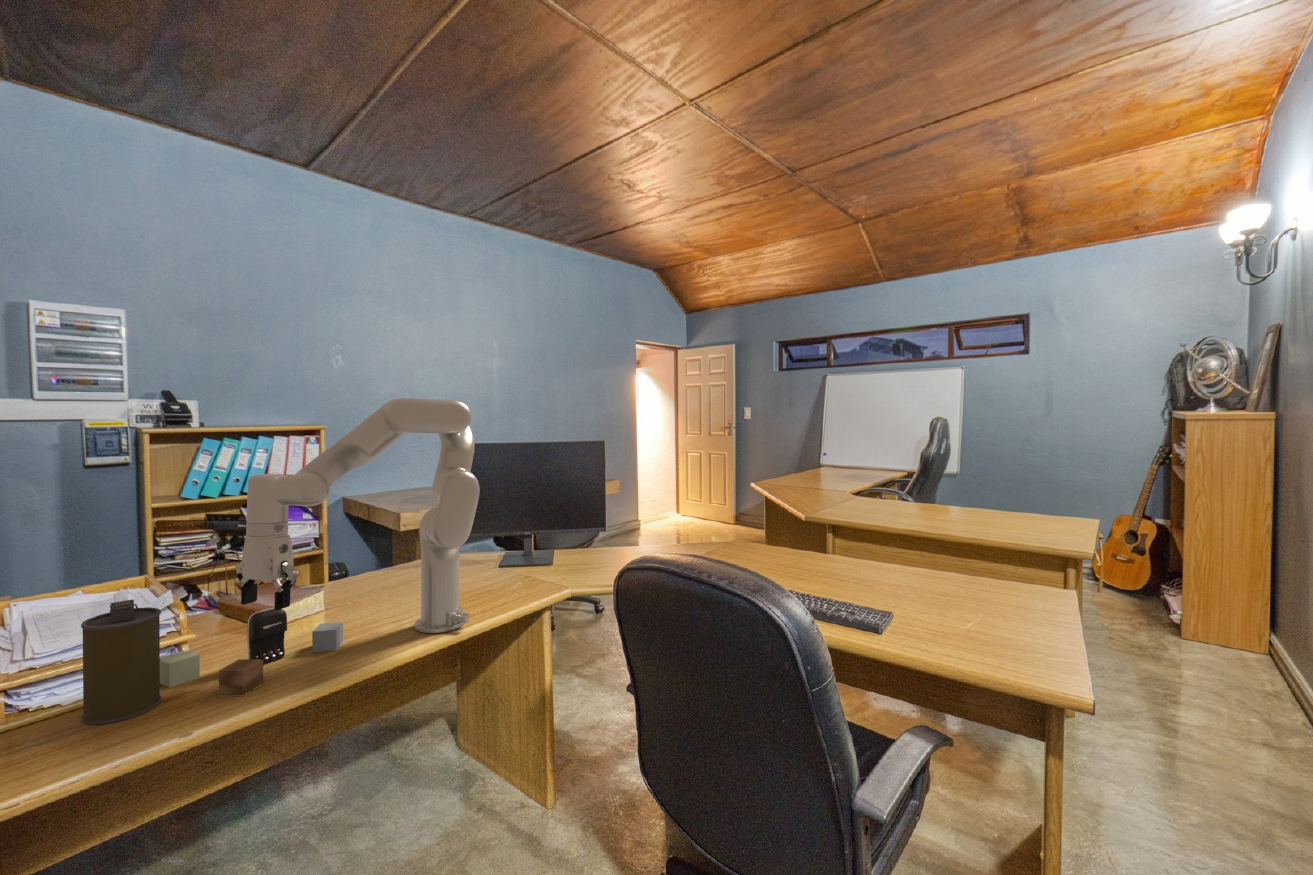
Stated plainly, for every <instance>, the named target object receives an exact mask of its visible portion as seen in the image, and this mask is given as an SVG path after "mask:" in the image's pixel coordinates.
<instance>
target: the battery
mask: <svg viewBox="0 0 1313 875" xmlns="http://www.w3.org/2000/svg"><path fill="white" fill-rule="evenodd" d="M246 625H247V627H246V628H247V629H246V638H247V659H250V660H263V665H265V664H267V663H271V662H274V661H277V660H279V659H282V658H284V657H285V655H286V652H285V650H286V649H285V632H286V631H288V615H287V611H285V610H284V609H280V610H275V609H274V607H272V608H271V607H270V608H267V609H263V610H258V611H256V612H253V613H252V614H249V616H248V618H247V624H246Z"/></svg>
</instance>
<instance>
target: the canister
mask: <svg viewBox="0 0 1313 875" xmlns="http://www.w3.org/2000/svg"><path fill="white" fill-rule="evenodd" d="M109 608H110V609H109V612H106V613H102V614H99V615H96V616H93V617H90V618H88V619H86V620H83V622H82V623H81V624H80V628H81V629H82V696H83V699H82V701H83V702H82V704H83V706H82V707H83V708H82V709H83V715H82V716H81V721H82V722H83V723H84V724H86V725H92V726H95V725H96V726H97V725H108V724H113V723H118V722H122V721H126V720H129V719H132V718H135V717H138V716H141V715H143V714H144V713H147V712H148V711H151V710H153V709H154V708H155V707H157V706H158V705H159V704H160V703H161V701H162V696H161V692H160V691H161V684H160V658H161V657H160V655H161V654H160V653H161V652H160V651H161V650H160V649H161V648H160V646H161V645H160V641H161V640H160V636H161V635H160V634H161V633H160V631H161V630H160V628H161V627H160V626H161V625H160V623H161V622H160V615H162V614H161V613H162V611H161V609H159V608H157V607H150V606H149V607H146V606H145V607H138V604H137V603H135V600H134V599H133V598H132V599H128V600H127V599H126V600H123V601H122V600H121V601H115V602H110V605H109Z"/></svg>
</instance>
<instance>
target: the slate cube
mask: <svg viewBox="0 0 1313 875" xmlns="http://www.w3.org/2000/svg"><path fill="white" fill-rule="evenodd" d="M311 634H312V638H311V639H312V640H311V641H312V642H311V644H312V645H311V646H312V648H311V650H312V653H319V652H333V651H335V652H336V651H337V650H338V649H339V648H340V647H341V645H342V644H343V643H344V622H342V621H340V622H327V623H323V622H322V623H319V624H318V625H317V626H316V627H315V628H314V629H313V630H312V632H311Z"/></svg>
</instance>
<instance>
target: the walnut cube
mask: <svg viewBox="0 0 1313 875" xmlns="http://www.w3.org/2000/svg"><path fill="white" fill-rule="evenodd" d="M262 683H263V684H264V664H263V660H250V659H248V658H247V659H243V658H241V659H237V660H235V661H233V662H231V663H229V664H227V665H226V666H224V667H222V668H220V669H218V696H232V695H244V696H246V695H247V694H249V693H250V692H252V691H253V689H254V688H255V689H257V688H258V687H260V686H261V685H263V684H262ZM259 685H260V686H259ZM256 687H257V688H256ZM255 689H254V690H255ZM249 691H250V692H249ZM248 692H249V693H248ZM246 693H247V694H246ZM245 694H246V695H245Z"/></svg>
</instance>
